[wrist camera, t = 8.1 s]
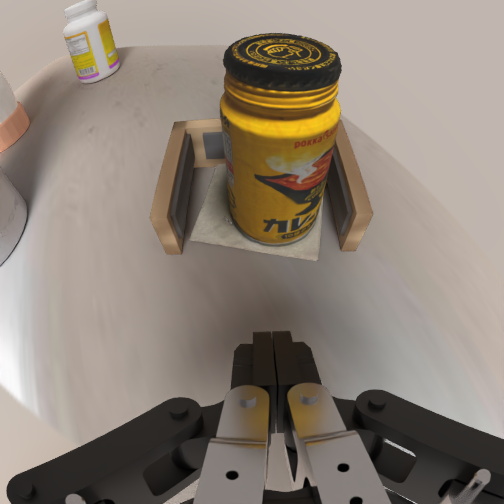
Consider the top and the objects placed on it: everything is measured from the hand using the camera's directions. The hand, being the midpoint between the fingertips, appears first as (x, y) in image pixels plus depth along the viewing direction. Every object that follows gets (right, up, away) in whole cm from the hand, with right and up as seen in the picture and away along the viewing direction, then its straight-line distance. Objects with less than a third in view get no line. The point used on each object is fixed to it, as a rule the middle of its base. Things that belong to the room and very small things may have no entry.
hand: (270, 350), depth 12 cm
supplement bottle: (-24, +31, +24) cm, 45 cm away
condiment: (0, +7, +10) cm, 12 cm away
